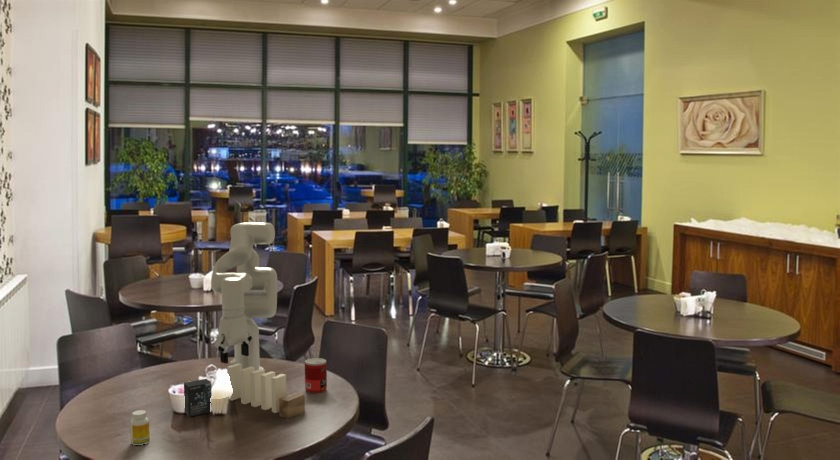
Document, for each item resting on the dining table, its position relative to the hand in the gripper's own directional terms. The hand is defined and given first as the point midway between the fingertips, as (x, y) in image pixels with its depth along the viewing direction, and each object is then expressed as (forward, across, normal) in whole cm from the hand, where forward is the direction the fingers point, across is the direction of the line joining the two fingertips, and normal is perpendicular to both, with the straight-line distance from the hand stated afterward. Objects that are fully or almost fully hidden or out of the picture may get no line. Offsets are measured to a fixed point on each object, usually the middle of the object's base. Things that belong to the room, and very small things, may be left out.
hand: (234, 359), depth 271 cm
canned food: (+14, -22, +18) cm, 32 cm away
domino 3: (+14, +1, +12) cm, 19 cm away
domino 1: (+14, +1, +1) cm, 14 cm away
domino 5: (+14, +1, +22) cm, 26 cm away
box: (+14, +18, +1) cm, 23 cm away
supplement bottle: (+13, +45, +7) cm, 47 cm away
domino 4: (+14, +1, +17) cm, 22 cm away
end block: (+13, +1, +28) cm, 31 cm away
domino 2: (+14, +1, +7) cm, 16 cm away
